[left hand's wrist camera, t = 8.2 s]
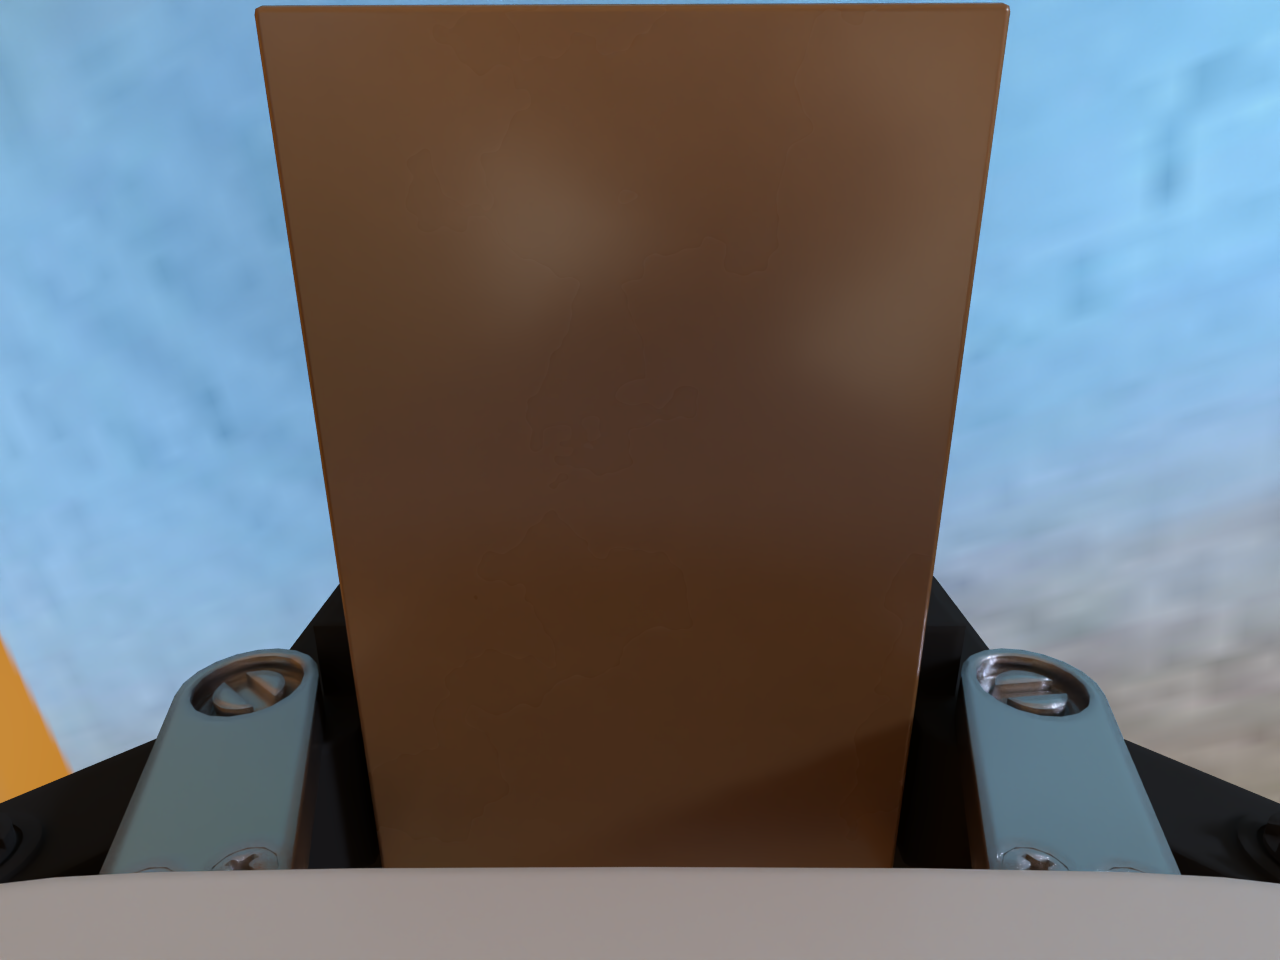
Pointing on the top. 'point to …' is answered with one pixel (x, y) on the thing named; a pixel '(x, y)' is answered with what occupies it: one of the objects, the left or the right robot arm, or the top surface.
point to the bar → (634, 407)
